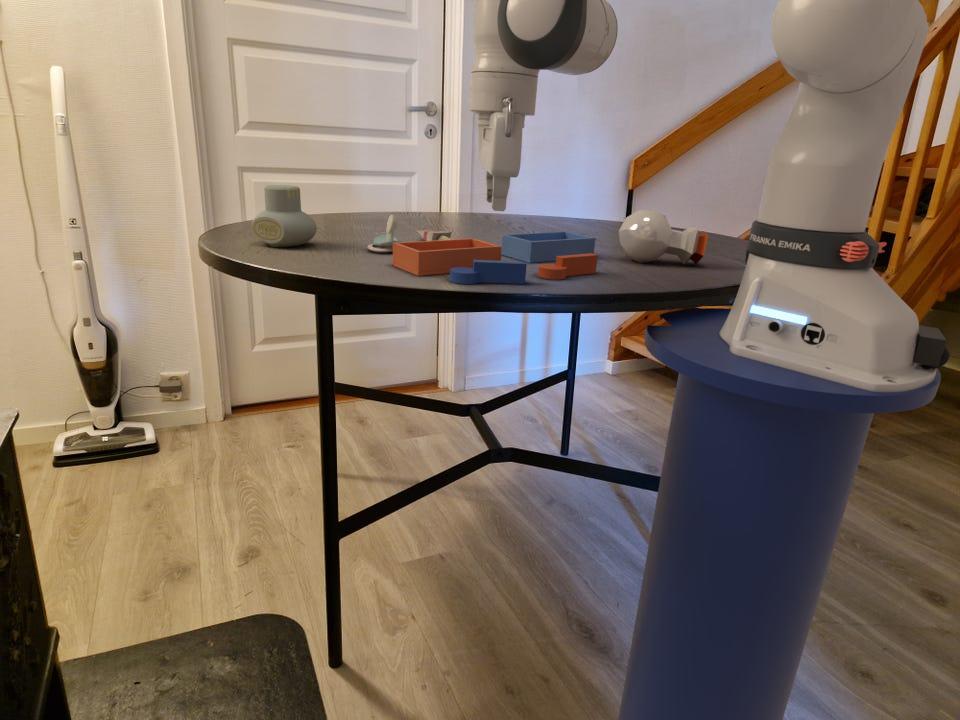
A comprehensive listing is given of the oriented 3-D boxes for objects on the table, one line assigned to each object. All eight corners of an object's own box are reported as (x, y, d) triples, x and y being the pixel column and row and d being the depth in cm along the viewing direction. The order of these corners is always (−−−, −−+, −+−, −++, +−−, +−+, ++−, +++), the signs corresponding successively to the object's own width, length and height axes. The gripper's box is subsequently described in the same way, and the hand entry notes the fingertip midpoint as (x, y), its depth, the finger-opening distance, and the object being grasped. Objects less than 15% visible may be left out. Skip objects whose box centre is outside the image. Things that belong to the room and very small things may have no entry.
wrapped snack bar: (431, 222, 123) (476, 244, 107) (430, 236, 124) (475, 259, 108) (413, 222, 122) (456, 244, 105) (412, 236, 123) (455, 260, 107)
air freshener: (325, 245, 111) (323, 187, 107) (293, 251, 104) (290, 190, 100) (277, 238, 115) (274, 182, 112) (244, 243, 108) (240, 184, 104)
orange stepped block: (583, 269, 102) (585, 251, 101) (602, 275, 99) (604, 256, 98) (531, 274, 96) (533, 255, 95) (550, 280, 93) (552, 261, 92)
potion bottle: (609, 265, 114) (689, 280, 114) (621, 241, 105) (708, 258, 104) (615, 221, 117) (694, 236, 116) (628, 194, 107) (714, 210, 107)
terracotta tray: (500, 268, 99) (501, 246, 98) (418, 276, 91) (418, 251, 90) (471, 259, 106) (472, 238, 104) (392, 265, 97) (392, 242, 96)
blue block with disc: (522, 279, 92) (523, 259, 91) (526, 286, 88) (528, 265, 87) (449, 277, 92) (449, 256, 91) (449, 283, 87) (450, 262, 86)
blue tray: (593, 257, 114) (595, 237, 112) (529, 263, 105) (531, 241, 104) (563, 249, 120) (565, 231, 119) (501, 254, 111) (502, 234, 110)
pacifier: (372, 255, 105) (406, 254, 107) (371, 218, 102) (406, 217, 105) (363, 248, 111) (395, 246, 113) (362, 212, 109) (395, 211, 111)
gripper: (538, 98, 72) (527, 217, 77) (516, 104, 91) (509, 199, 96) (485, 94, 72) (477, 214, 77) (474, 101, 91) (468, 197, 96)
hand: (495, 206), depth 86 cm, fingers open, 8 cm apart
